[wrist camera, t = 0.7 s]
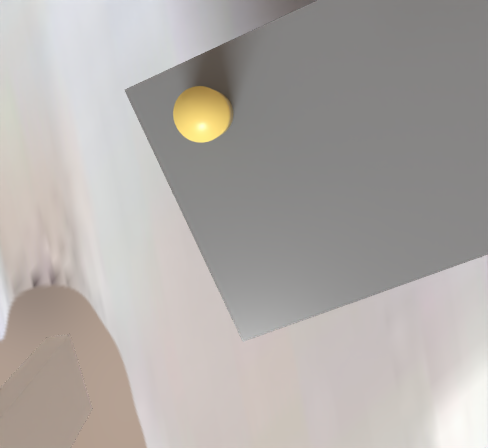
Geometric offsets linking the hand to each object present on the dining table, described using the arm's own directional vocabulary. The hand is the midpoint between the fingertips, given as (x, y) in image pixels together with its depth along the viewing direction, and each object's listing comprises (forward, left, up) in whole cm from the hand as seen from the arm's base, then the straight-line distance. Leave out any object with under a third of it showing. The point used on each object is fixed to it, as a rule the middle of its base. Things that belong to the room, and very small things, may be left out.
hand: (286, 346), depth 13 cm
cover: (-1, +6, -13) cm, 14 cm away
